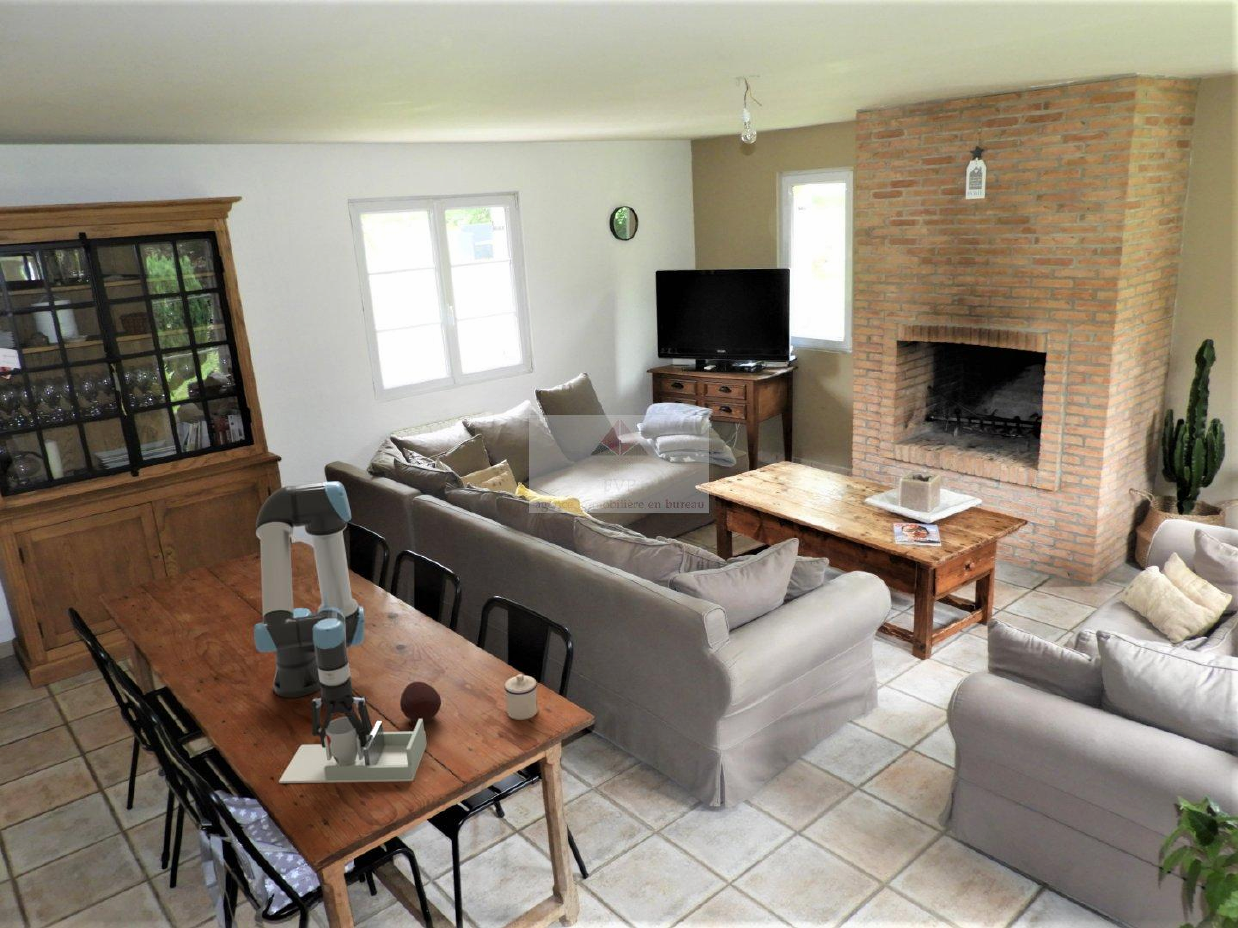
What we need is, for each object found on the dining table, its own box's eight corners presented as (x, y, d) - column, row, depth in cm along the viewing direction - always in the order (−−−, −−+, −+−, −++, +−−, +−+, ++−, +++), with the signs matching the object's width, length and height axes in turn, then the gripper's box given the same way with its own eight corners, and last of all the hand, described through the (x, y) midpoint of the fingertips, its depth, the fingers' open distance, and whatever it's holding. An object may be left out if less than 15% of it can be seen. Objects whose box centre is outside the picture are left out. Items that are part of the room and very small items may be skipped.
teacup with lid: (545, 712, 254) (542, 675, 251) (518, 724, 249) (515, 687, 245) (521, 695, 263) (518, 660, 260) (494, 707, 258) (491, 671, 254)
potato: (407, 736, 245) (403, 703, 242) (398, 712, 257) (394, 680, 254) (447, 726, 249) (443, 693, 246) (436, 703, 261) (433, 671, 258)
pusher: (366, 775, 228) (363, 749, 226) (380, 745, 240) (377, 721, 238) (371, 775, 228) (367, 749, 226) (384, 745, 240) (381, 721, 238)
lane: (279, 783, 227) (274, 753, 225) (301, 746, 242) (297, 718, 240) (412, 781, 226) (409, 751, 224) (426, 744, 241) (423, 716, 239)
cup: (334, 751, 237) (329, 718, 235) (365, 749, 238) (360, 715, 235) (327, 770, 230) (321, 736, 227) (359, 767, 230) (354, 733, 227)
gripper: (289, 687, 224) (302, 766, 231) (370, 686, 223) (381, 765, 230) (300, 672, 231) (312, 748, 238) (379, 670, 230) (389, 748, 237)
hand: (346, 756), depth 234 cm, fingers closed on cup, 8 cm apart
